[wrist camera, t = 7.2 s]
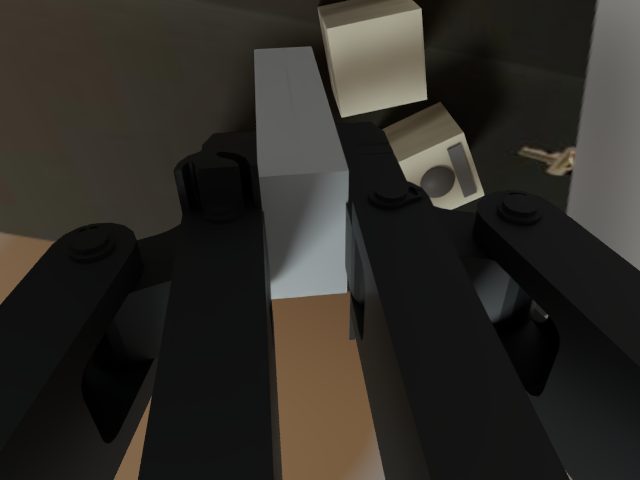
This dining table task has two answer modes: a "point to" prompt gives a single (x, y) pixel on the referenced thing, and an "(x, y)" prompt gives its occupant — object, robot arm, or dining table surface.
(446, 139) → the striped block
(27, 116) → the dining table surface
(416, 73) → the plain block
